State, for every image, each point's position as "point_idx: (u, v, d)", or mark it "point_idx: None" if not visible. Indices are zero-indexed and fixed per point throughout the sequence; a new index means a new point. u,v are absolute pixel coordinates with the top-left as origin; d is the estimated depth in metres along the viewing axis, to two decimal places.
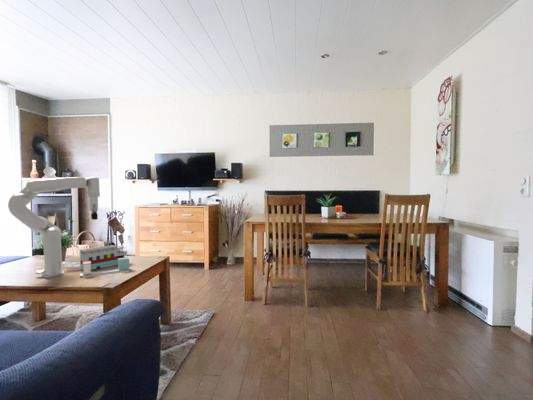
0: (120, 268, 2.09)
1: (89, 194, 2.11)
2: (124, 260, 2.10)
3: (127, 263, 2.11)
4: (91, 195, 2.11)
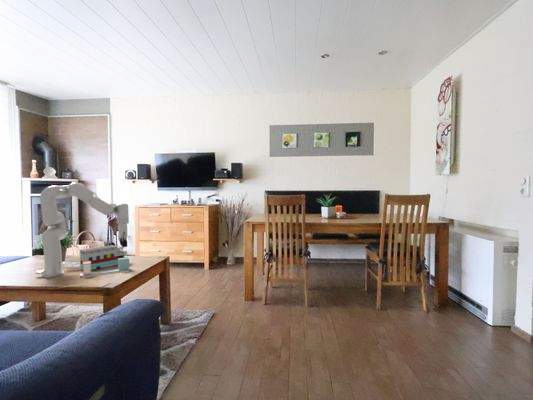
0: (120, 268, 2.09)
1: (119, 221, 2.08)
2: (124, 260, 2.10)
3: (127, 263, 2.11)
4: (121, 222, 2.08)
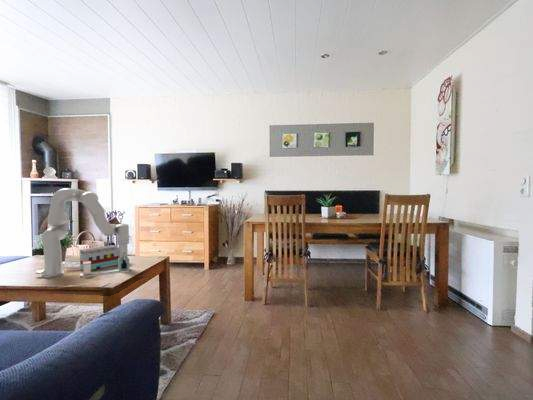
0: (120, 268, 2.09)
1: (119, 242, 2.08)
2: None
3: (127, 263, 2.11)
4: (121, 243, 2.08)
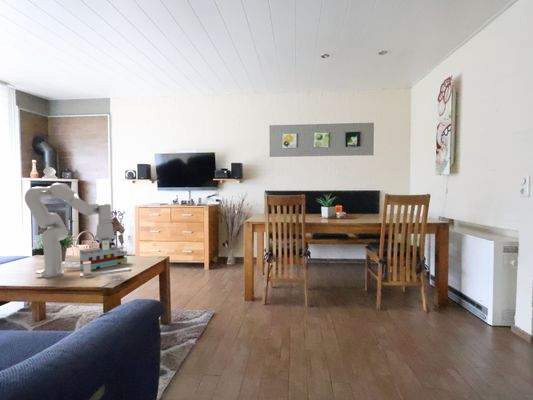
0: None
1: None
2: (101, 241, 2.04)
3: None
4: None
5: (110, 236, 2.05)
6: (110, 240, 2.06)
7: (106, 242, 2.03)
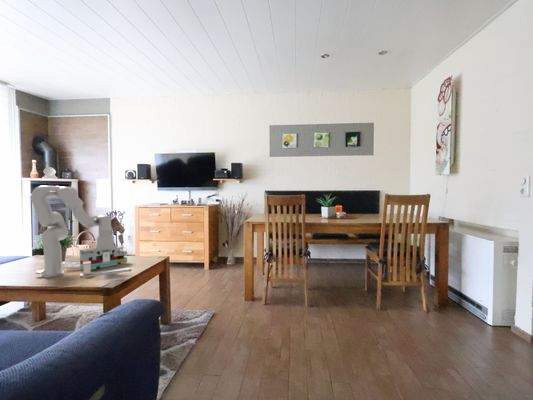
0: None
1: None
2: (102, 252, 2.04)
3: (102, 256, 2.03)
4: None
5: (111, 248, 2.06)
6: (111, 252, 2.06)
7: (106, 254, 2.03)
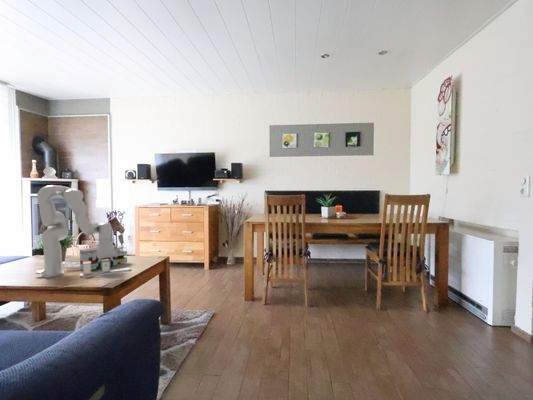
0: None
1: None
2: (101, 262, 2.05)
3: (102, 266, 2.03)
4: None
5: (110, 255, 2.06)
6: (112, 258, 2.07)
7: (106, 264, 2.03)
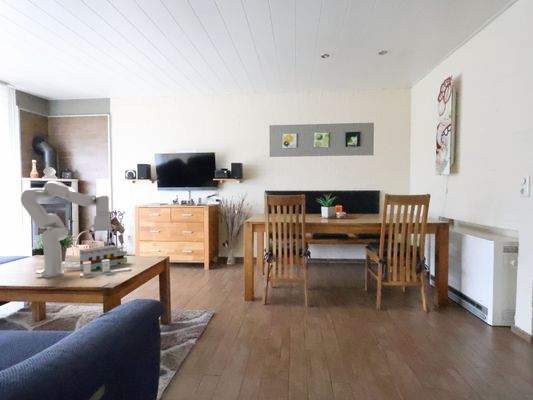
0: None
1: None
2: None
3: (102, 266, 2.03)
4: None
5: (107, 228, 2.05)
6: (110, 230, 2.07)
7: (106, 264, 2.03)
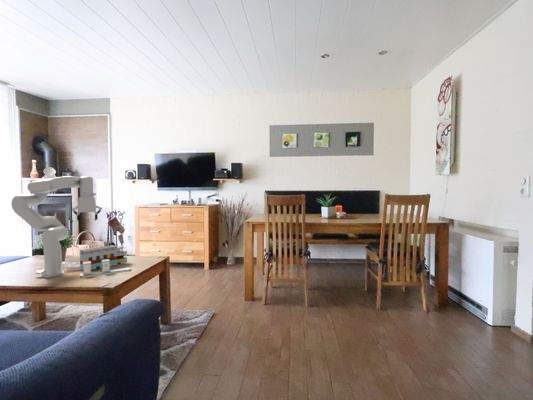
0: None
1: None
2: None
3: (102, 266, 2.03)
4: None
5: (92, 209, 2.02)
6: (95, 212, 2.04)
7: (106, 264, 2.03)
